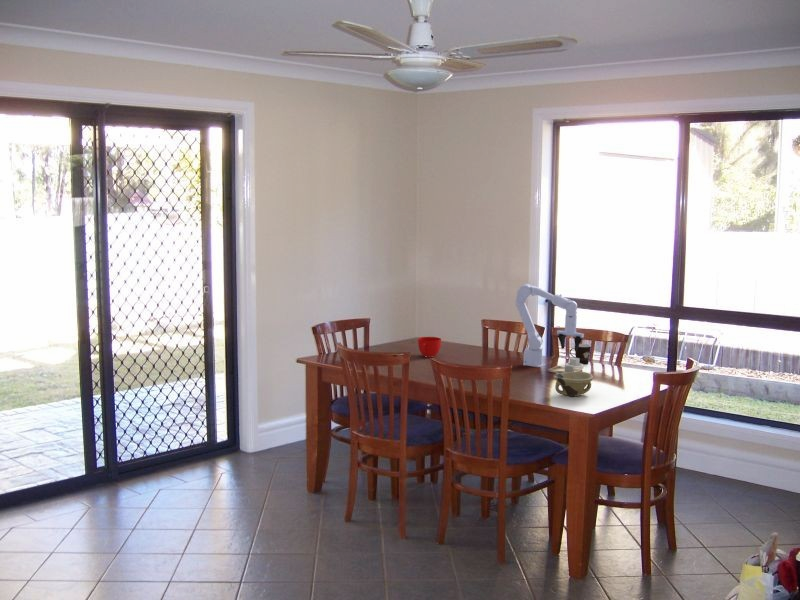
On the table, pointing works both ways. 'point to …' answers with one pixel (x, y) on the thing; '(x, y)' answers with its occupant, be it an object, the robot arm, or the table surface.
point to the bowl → (573, 383)
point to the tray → (561, 369)
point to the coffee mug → (582, 353)
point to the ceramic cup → (429, 345)
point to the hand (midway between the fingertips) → (569, 349)
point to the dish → (578, 366)
